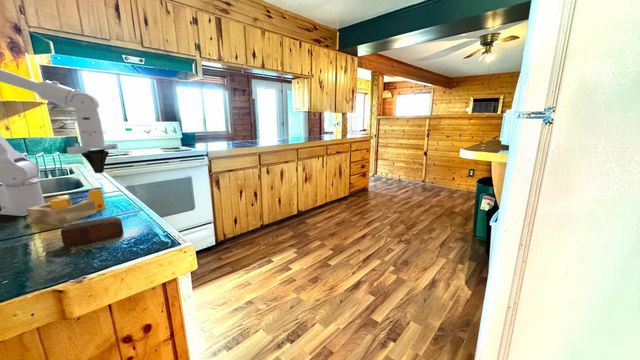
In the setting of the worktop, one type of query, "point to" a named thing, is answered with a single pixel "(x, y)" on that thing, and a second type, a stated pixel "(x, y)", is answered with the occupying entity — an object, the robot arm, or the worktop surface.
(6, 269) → the worktop surface
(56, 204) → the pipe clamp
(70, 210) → the wooden open tray
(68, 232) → the brick
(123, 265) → the worktop surface
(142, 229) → the worktop surface
